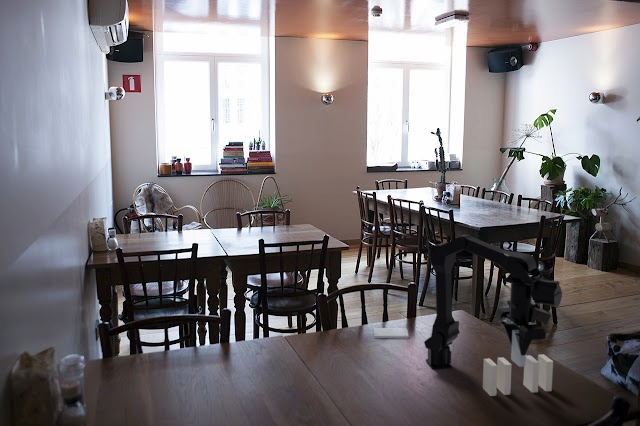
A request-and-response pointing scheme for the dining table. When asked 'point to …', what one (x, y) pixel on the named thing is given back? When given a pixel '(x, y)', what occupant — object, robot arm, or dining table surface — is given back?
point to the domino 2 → (504, 375)
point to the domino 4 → (531, 374)
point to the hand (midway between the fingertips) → (518, 351)
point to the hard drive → (391, 333)
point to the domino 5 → (545, 372)
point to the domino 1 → (490, 377)
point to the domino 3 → (517, 351)
